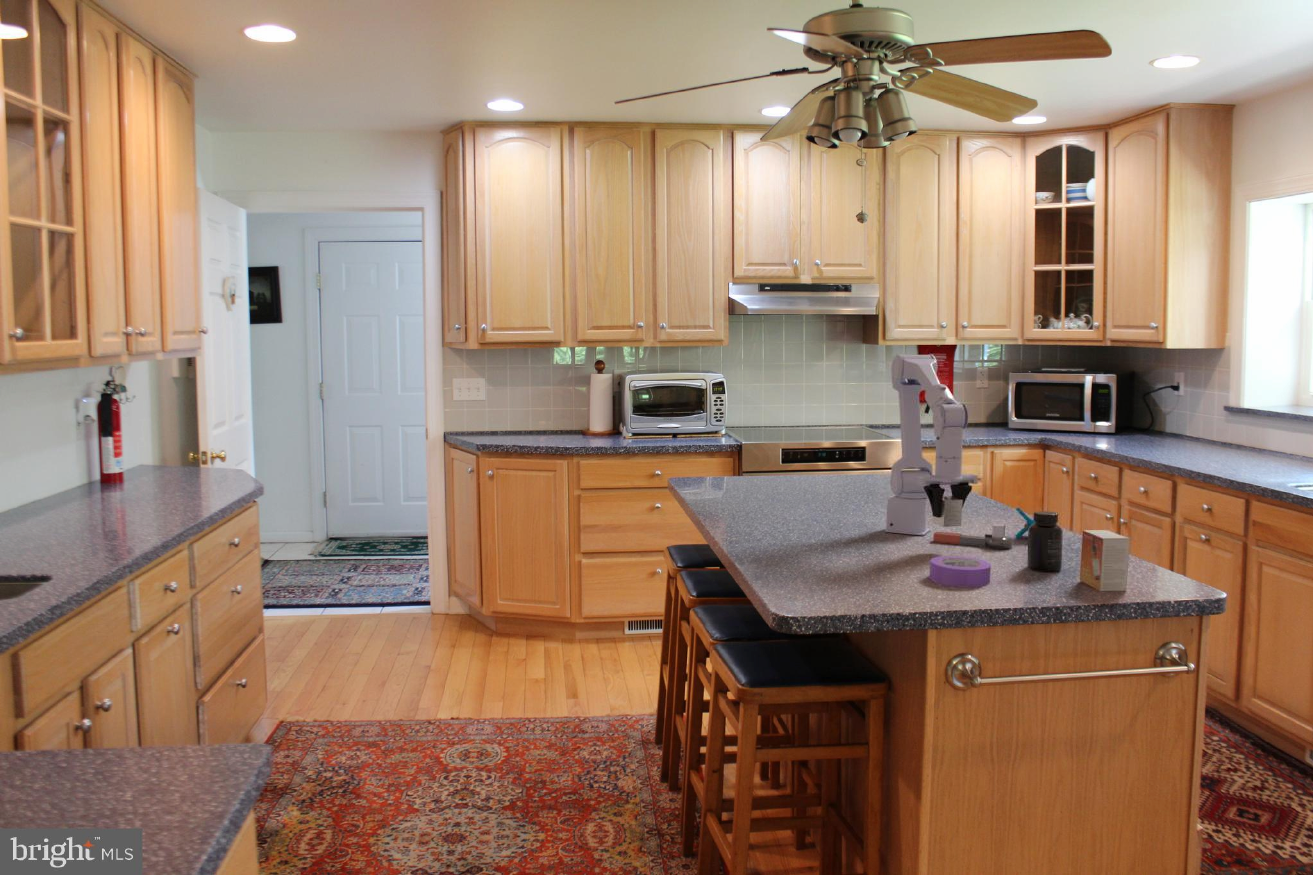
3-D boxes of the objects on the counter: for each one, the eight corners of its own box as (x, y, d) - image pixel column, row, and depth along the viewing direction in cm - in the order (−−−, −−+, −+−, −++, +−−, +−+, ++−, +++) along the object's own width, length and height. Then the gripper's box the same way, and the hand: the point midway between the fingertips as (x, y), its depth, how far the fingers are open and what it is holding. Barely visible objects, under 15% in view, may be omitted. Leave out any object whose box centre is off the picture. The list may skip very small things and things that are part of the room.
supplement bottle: (1060, 566, 215) (1063, 511, 214) (1062, 573, 208) (1065, 516, 207) (1026, 564, 217) (1028, 509, 216) (1026, 571, 211) (1029, 514, 209)
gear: (1051, 537, 237) (1020, 505, 239) (1031, 554, 238) (1001, 522, 241) (1049, 535, 247) (1020, 504, 250) (1030, 551, 249) (1001, 520, 251)
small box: (1078, 581, 202) (1081, 529, 201) (1105, 580, 203) (1108, 529, 202) (1099, 591, 194) (1102, 537, 193) (1127, 591, 195) (1130, 537, 194)
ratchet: (932, 543, 238) (932, 521, 238) (937, 538, 243) (938, 517, 243) (1009, 550, 230) (1010, 528, 230) (1013, 545, 235) (1014, 523, 235)
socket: (943, 526, 226) (944, 498, 225) (932, 522, 231) (933, 495, 230) (961, 525, 228) (962, 498, 227) (949, 521, 232) (950, 494, 231)
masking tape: (1002, 585, 199) (1003, 566, 199) (950, 589, 196) (951, 570, 196) (968, 572, 210) (968, 554, 210) (918, 575, 207) (919, 557, 207)
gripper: (930, 460, 222) (928, 521, 223) (987, 457, 226) (984, 517, 228) (913, 456, 228) (911, 515, 230) (968, 454, 233) (965, 512, 234)
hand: (946, 516), depth 229 cm, fingers closed on socket, 5 cm apart
